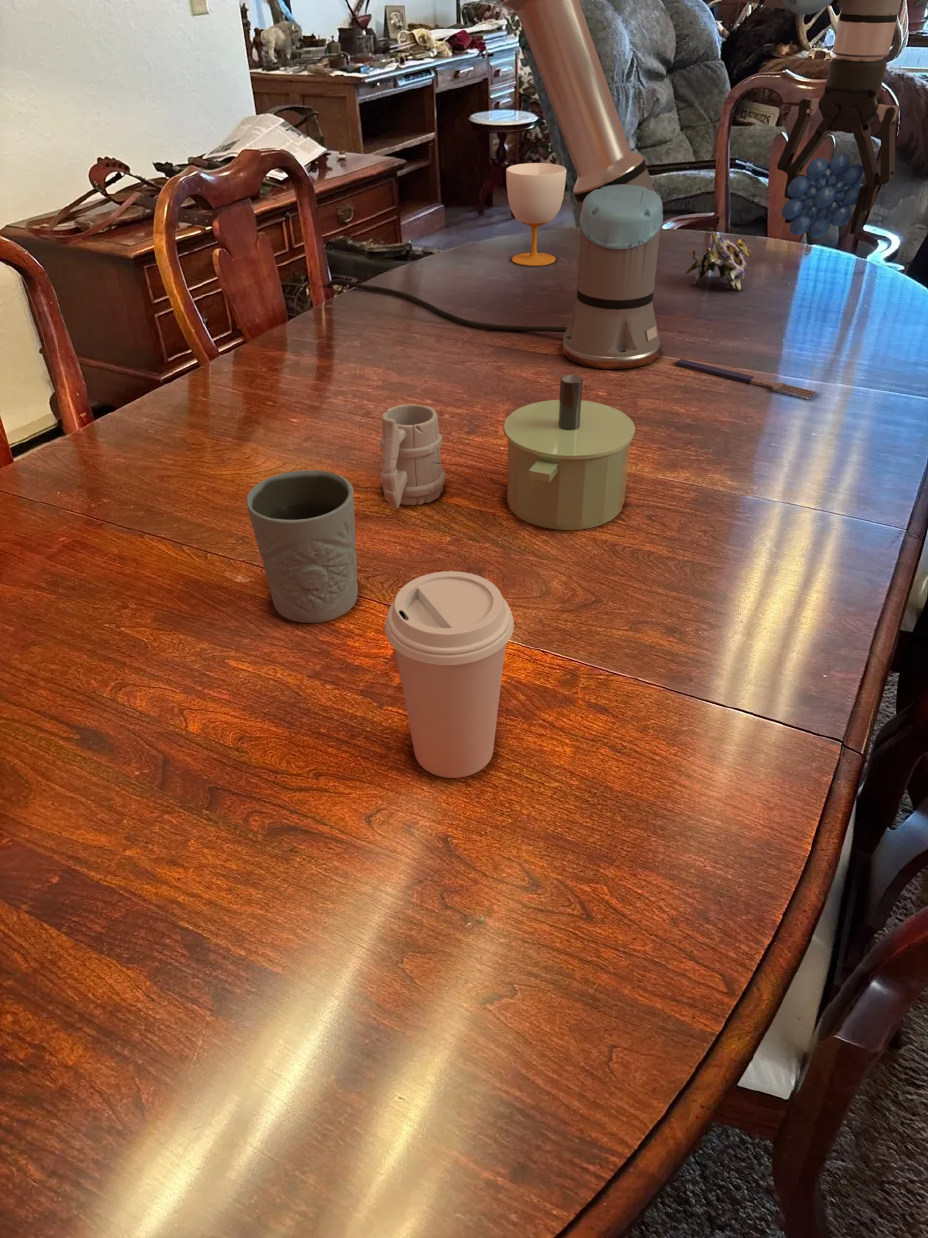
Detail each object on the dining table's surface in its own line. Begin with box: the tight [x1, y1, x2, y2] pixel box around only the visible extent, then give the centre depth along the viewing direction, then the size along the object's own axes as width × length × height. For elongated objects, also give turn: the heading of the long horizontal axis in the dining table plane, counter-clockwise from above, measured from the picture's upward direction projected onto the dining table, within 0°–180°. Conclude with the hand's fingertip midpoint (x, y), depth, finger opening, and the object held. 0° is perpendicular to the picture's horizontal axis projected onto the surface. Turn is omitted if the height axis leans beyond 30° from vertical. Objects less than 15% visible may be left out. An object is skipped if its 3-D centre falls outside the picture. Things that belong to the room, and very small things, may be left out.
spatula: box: [675, 358, 816, 400], centre depth 136 cm, size 21×3×1 cm, turn 51°
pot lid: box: [503, 374, 636, 460], centre depth 102 cm, size 15×15×7 cm
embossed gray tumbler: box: [245, 469, 359, 624], centre depth 90 cm, size 10×10×12 cm
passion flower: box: [685, 231, 752, 292], centre depth 170 cm, size 11×11×12 cm
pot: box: [506, 439, 631, 531], centre depth 106 cm, size 14×19×9 cm
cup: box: [505, 162, 567, 267], centre depth 184 cm, size 12×12×17 cm
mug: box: [379, 403, 447, 510], centre depth 106 cm, size 8×12×12 cm, turn 162°
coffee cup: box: [384, 570, 515, 779], centre depth 71 cm, size 10×10×15 cm
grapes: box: [781, 151, 865, 239], centre depth 140 cm, size 12×7×12 cm, turn 82°
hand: (822, 226), depth 142 cm, fingers closed on grapes, 9 cm apart
